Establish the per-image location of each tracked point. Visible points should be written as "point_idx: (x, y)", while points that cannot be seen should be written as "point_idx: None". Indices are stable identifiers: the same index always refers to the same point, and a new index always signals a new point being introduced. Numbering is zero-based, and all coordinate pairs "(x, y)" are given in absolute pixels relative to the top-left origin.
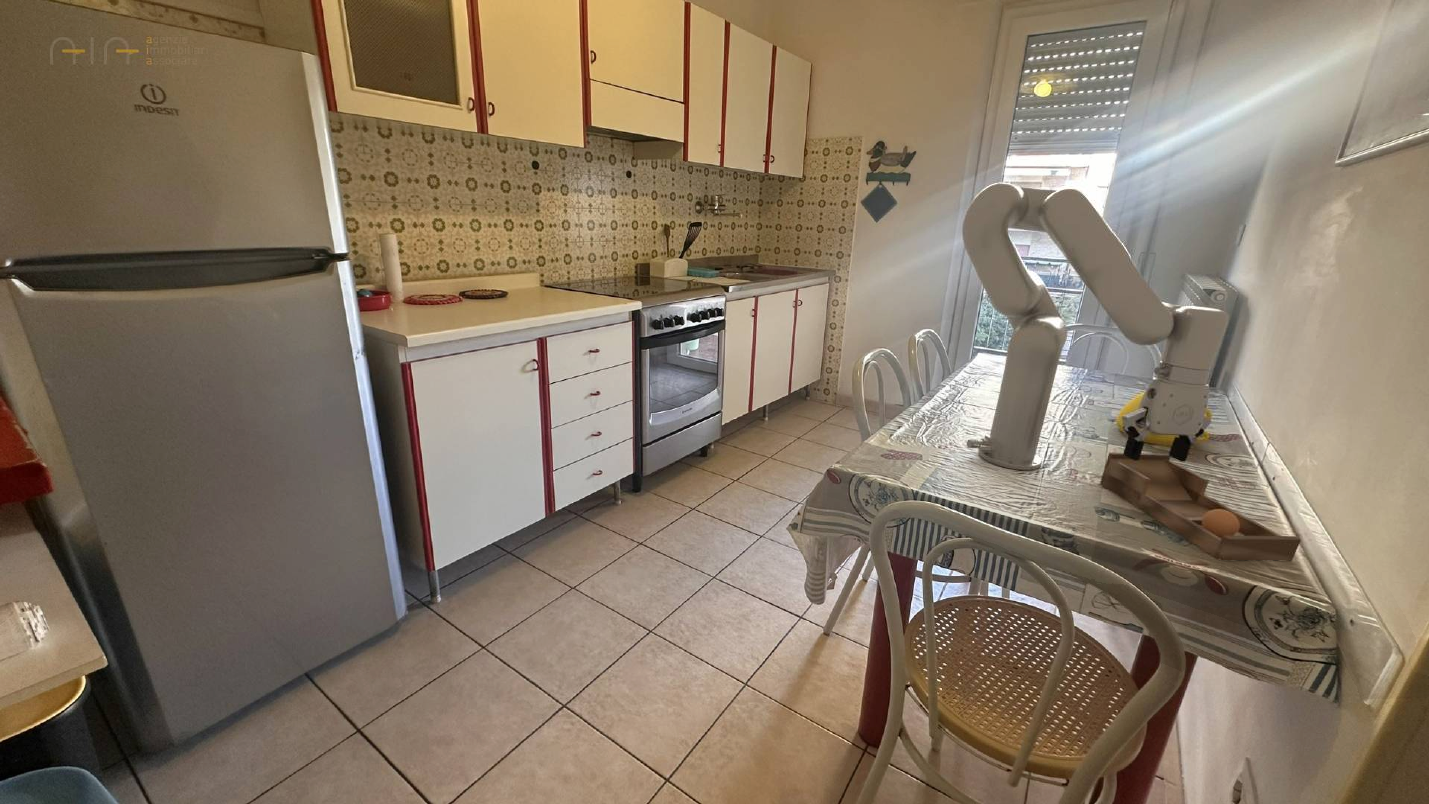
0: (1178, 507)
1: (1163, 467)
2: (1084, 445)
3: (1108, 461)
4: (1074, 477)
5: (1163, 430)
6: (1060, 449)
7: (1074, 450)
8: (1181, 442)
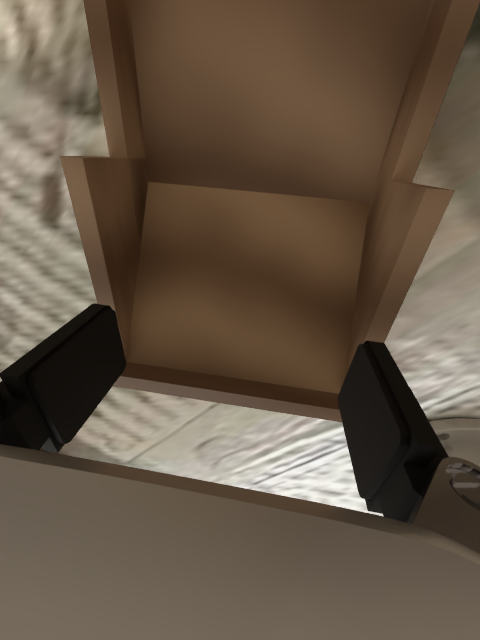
0: (263, 116)
1: (159, 329)
2: (182, 467)
3: None
4: None
5: (397, 606)
6: (254, 466)
7: (225, 458)
8: (56, 403)
